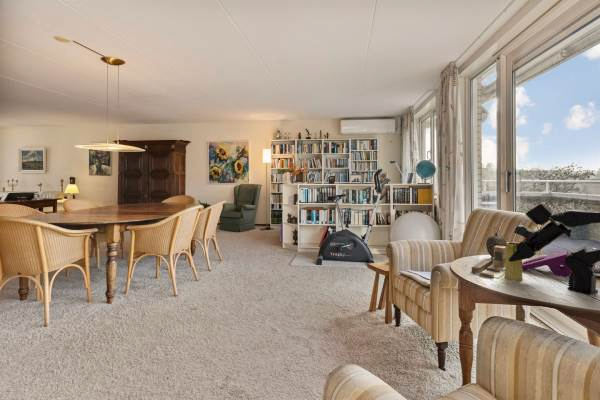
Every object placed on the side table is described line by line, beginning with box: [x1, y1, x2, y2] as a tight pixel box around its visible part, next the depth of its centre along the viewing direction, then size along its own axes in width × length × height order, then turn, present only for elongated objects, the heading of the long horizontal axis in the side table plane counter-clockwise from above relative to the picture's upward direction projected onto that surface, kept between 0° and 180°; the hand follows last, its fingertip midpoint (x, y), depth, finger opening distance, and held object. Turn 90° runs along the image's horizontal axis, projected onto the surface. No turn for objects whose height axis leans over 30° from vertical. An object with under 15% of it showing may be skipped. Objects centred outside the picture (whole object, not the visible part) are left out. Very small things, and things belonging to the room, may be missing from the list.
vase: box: [503, 241, 523, 281], centre depth 130 cm, size 6×6×14 cm
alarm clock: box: [485, 226, 507, 259], centre depth 159 cm, size 11×5×16 cm, turn 179°
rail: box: [471, 245, 506, 279], centre depth 142 cm, size 11×24×9 cm, turn 134°
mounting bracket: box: [522, 249, 572, 278], centre depth 138 cm, size 10×8×18 cm
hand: (512, 258), depth 131 cm, fingers open, 9 cm apart
